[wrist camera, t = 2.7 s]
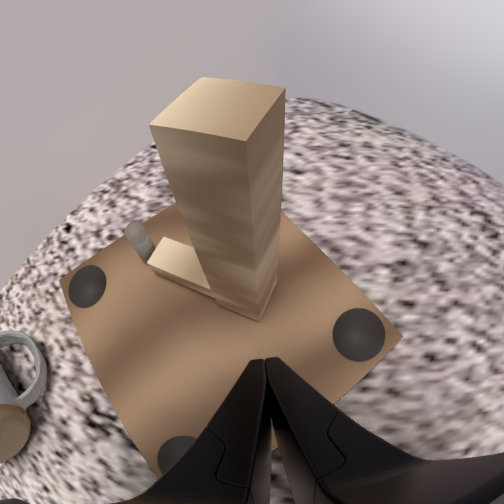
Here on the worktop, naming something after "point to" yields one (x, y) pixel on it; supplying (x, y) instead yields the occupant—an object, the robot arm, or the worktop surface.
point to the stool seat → (212, 334)
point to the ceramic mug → (18, 399)
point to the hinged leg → (224, 190)
